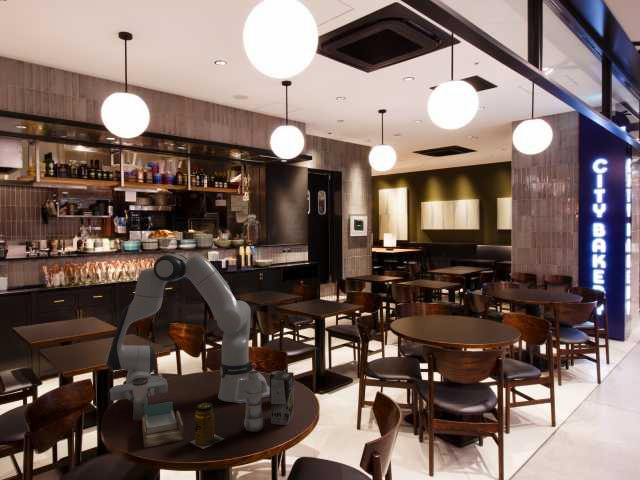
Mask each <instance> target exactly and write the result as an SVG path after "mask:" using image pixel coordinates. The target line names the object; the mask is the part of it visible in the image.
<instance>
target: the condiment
mask: <svg viewBox="0 0 640 480" xmlns="http://www.w3.org/2000/svg"><path fill="white" fill-rule="evenodd" d="M195 407H196V408H195V415H194V426H195V427H194V440H192V441H190V443H191V444H193V445H194V446H196V447H198V448H201V449H202V450H203V449H206V448H208V447H211V446H213V445H215V444H216V443H219V442H222V441H223V440H225V438H223V437H221V436H219V435H217V434H215V413H214V408H213V407H214V406H213V404H212V403H209V402H202V403H200V404H197V406H195Z"/></svg>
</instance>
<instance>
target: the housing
mask: <svg viewBox="0 0 640 480" xmlns="http://www.w3.org/2000/svg"><path fill="white" fill-rule="evenodd" d="M176 422H177V429H171V430H166V431H160V432H155V433H150V434H147V432H146V425H145V418H144V417H142V420H141V427H142V429H141V432H142V439H143V447H144V448H149V447H154V446H155V447H156V446H161V445H164V444H169V443H170V444H171V443H175V442H180V441H184V440H185V439H184V423H183V419H182V416H181V413H180V410H177V411H176ZM144 448H143V449H144Z"/></svg>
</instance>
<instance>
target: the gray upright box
mask: <svg viewBox="0 0 640 480" xmlns="http://www.w3.org/2000/svg"><path fill="white" fill-rule="evenodd" d="M277 372H286V370H280V369H277V370H272V371H271V373H270V375H269V387H270V396H269V401H270V402H271V379H272V378H273V377H274V376H275V375H276V373H277Z"/></svg>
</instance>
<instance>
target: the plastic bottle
mask: <svg viewBox="0 0 640 480" xmlns="http://www.w3.org/2000/svg"><path fill="white" fill-rule="evenodd" d="M259 373H260V372H259V371H257V370H255V371H250V372H248V379H249V380H248V381H247V382H246V384H245V386H244V393H245V400H246V402H245V417H244V420H243V421H244V422H243V425H244V428H245V430H246V431H247V432H250V433H256V432H260V431H261V430H262V429H263V428H264V417H263V408H262V404H263V403H262V402H263V401H262V399H263V398H262V392H263V386H262V384H261V382H260V381H259V379H258V378H259Z"/></svg>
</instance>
